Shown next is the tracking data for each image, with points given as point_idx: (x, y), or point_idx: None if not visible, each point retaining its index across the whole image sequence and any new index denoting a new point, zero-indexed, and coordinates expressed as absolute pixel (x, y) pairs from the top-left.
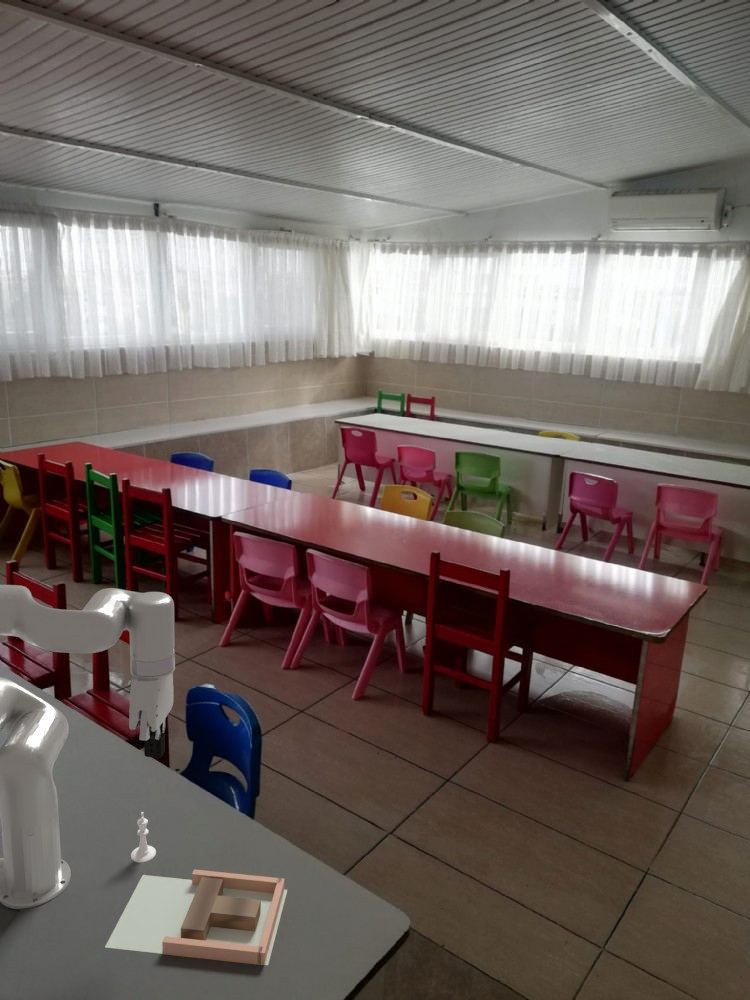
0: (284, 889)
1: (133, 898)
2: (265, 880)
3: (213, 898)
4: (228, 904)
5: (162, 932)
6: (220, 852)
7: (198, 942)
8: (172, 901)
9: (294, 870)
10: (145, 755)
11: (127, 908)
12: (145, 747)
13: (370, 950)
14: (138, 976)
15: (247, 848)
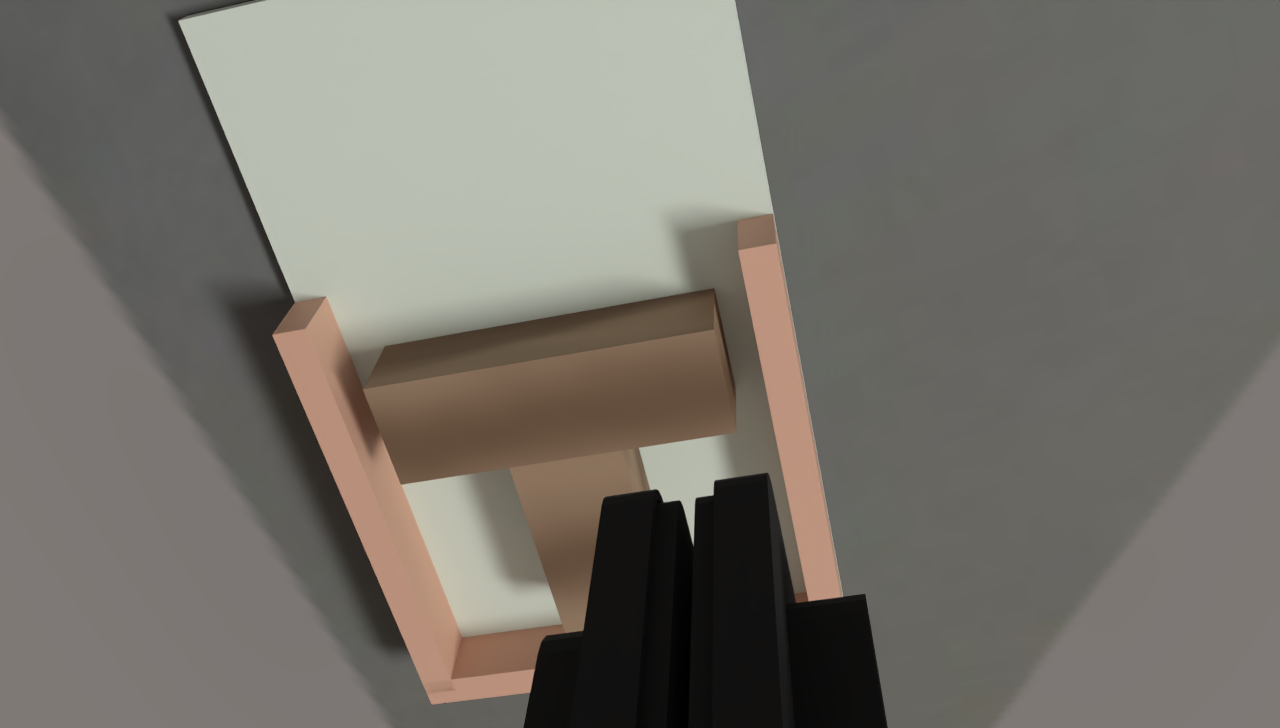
0: None
1: None
2: (812, 588)
3: (595, 444)
4: (587, 518)
5: (393, 241)
6: (1047, 230)
7: (351, 475)
8: (589, 183)
9: (993, 596)
10: (609, 509)
11: None
12: (593, 631)
13: None
14: (165, 251)
15: (1110, 351)
